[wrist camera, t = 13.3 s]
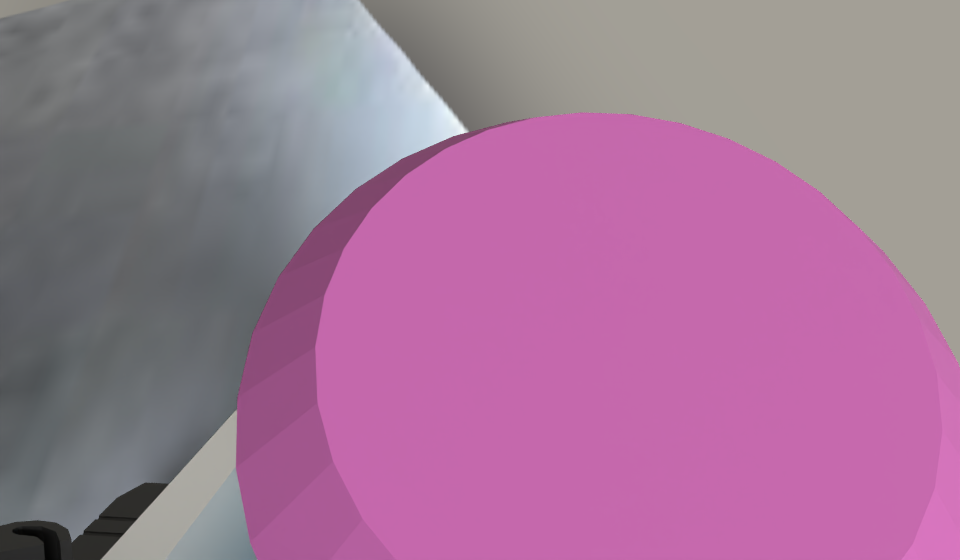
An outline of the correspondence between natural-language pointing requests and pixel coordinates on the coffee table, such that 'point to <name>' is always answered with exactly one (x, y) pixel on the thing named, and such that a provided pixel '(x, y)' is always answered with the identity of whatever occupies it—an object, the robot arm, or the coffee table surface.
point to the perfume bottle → (596, 364)
